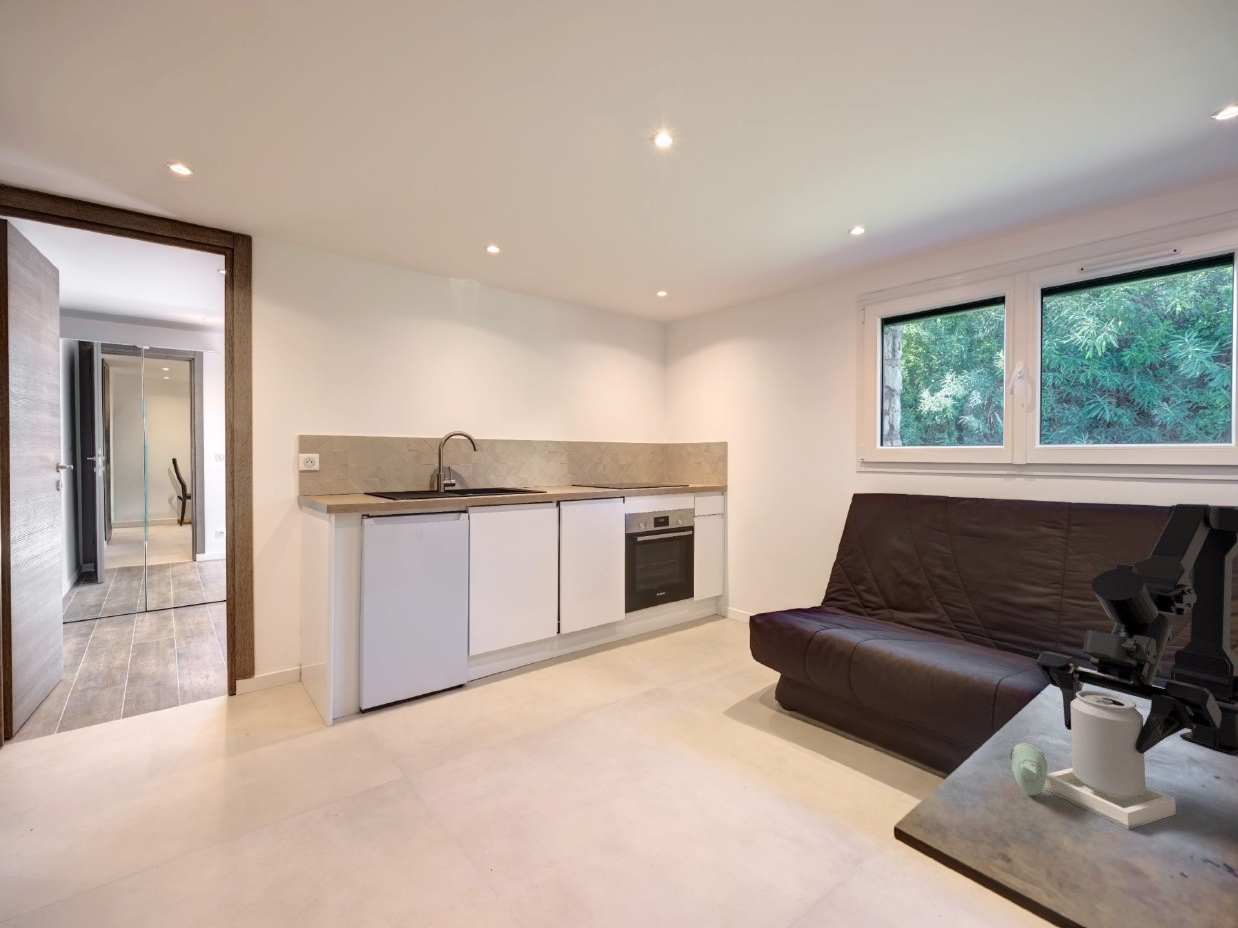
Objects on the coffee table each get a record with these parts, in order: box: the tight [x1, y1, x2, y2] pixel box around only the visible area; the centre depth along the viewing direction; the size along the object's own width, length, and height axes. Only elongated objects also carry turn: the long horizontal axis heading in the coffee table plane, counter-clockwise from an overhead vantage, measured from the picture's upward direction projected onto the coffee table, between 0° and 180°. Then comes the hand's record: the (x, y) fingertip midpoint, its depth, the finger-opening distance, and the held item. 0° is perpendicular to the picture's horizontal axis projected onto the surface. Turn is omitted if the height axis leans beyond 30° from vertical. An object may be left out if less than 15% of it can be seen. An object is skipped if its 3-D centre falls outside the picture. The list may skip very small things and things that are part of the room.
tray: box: [1044, 767, 1176, 830], centre depth 76 cm, size 10×10×2 cm
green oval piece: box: [1009, 742, 1048, 797], centre depth 77 cm, size 8×4×7 cm, turn 136°
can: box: [1070, 690, 1146, 799], centre depth 76 cm, size 8×8×12 cm
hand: (1101, 739), depth 76 cm, fingers closed on can, 7 cm apart
